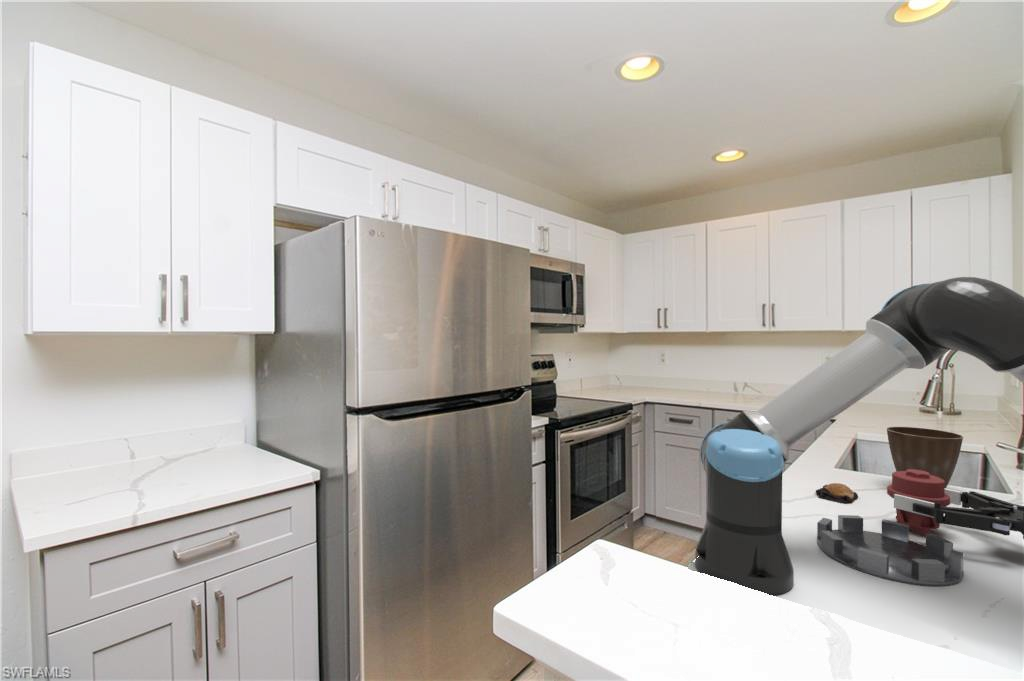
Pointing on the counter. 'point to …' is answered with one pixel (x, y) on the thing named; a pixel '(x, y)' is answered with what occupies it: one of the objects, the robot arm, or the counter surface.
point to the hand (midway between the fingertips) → (907, 495)
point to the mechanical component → (918, 497)
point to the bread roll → (837, 493)
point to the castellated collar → (891, 552)
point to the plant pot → (925, 450)
